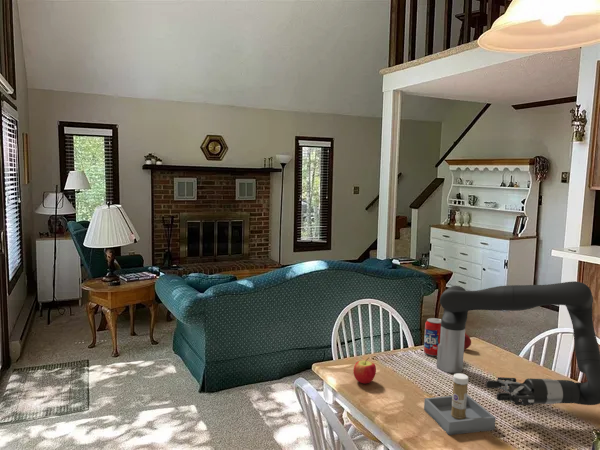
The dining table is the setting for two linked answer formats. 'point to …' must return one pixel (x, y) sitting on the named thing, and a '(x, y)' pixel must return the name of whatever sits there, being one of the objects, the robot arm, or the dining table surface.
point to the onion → (467, 341)
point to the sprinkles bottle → (459, 396)
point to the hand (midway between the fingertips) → (491, 390)
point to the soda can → (432, 336)
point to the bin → (473, 421)
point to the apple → (364, 371)
